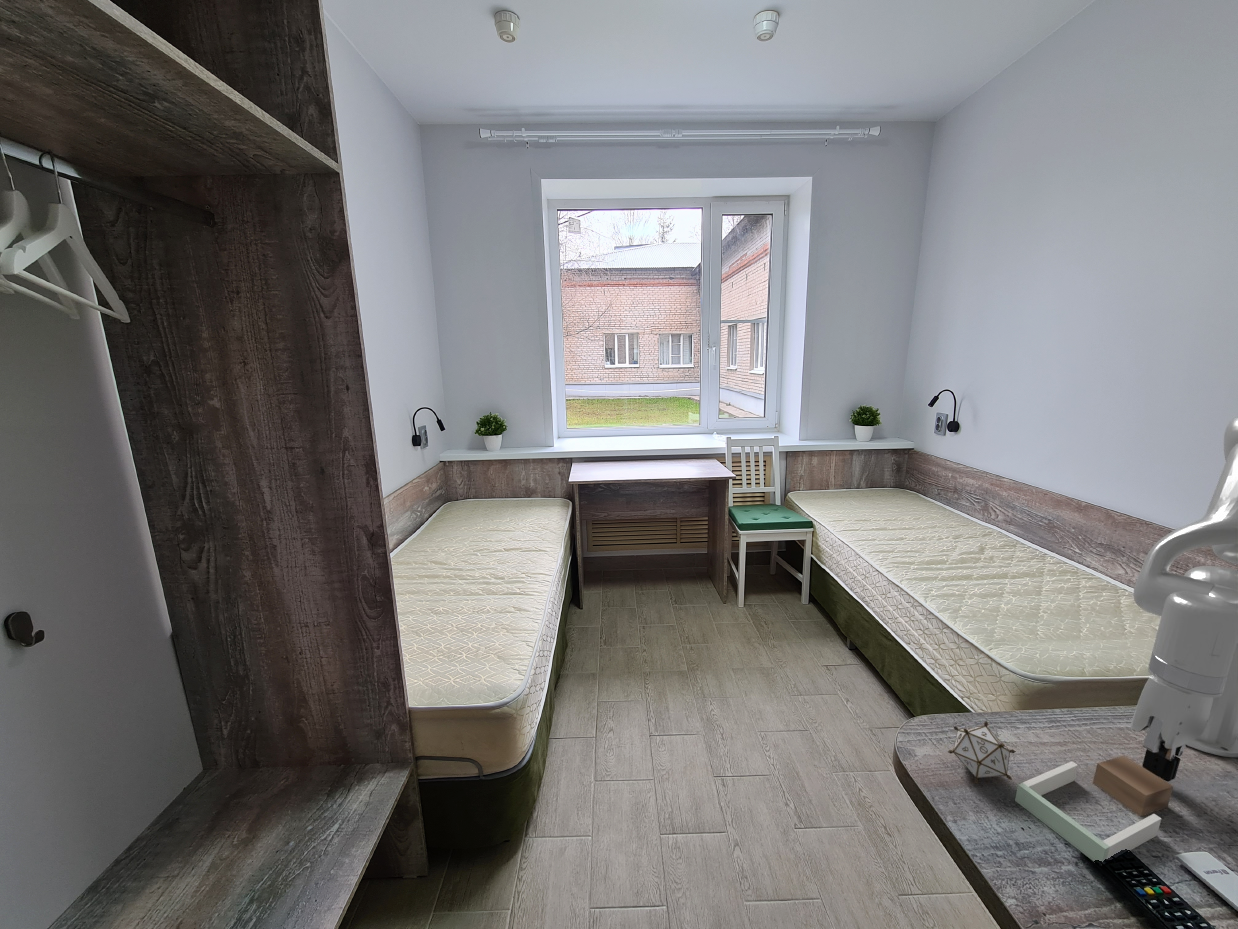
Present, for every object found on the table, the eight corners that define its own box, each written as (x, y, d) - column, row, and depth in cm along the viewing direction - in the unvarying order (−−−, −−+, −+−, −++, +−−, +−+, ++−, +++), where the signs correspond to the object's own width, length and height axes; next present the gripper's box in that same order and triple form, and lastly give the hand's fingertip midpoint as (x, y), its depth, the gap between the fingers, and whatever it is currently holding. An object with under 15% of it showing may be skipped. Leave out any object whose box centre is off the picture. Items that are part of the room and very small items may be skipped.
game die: (988, 798, 79) (1039, 788, 72) (937, 775, 80) (982, 763, 73) (980, 741, 85) (1025, 727, 78) (932, 720, 86) (973, 704, 79)
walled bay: (1068, 776, 78) (1071, 761, 78) (1156, 835, 69) (1161, 818, 68) (1014, 800, 74) (1018, 784, 74) (1100, 867, 65) (1105, 849, 64)
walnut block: (1118, 776, 79) (1123, 755, 78) (1167, 808, 73) (1173, 786, 72) (1092, 784, 77) (1097, 763, 76) (1139, 817, 72) (1145, 795, 71)
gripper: (1178, 649, 79) (1153, 744, 83) (1124, 668, 74) (1100, 768, 78) (1248, 677, 72) (1217, 779, 76) (1194, 699, 67) (1163, 807, 71)
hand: (1157, 773), depth 77 cm, fingers closed
